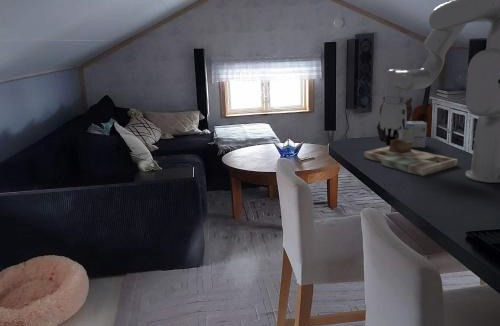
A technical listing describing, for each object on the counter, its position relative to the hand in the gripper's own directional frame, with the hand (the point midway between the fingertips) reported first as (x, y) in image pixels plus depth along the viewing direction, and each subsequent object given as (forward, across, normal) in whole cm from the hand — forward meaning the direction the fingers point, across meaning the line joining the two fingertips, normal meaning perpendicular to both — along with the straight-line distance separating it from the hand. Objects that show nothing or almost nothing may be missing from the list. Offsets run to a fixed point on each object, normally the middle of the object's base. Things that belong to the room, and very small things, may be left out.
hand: (390, 144), depth 180 cm
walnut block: (+1, -5, 0) cm, 5 cm away
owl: (+5, +17, -24) cm, 30 cm away
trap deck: (+4, -12, +4) cm, 13 cm away
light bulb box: (+4, +4, -20) cm, 21 cm away
